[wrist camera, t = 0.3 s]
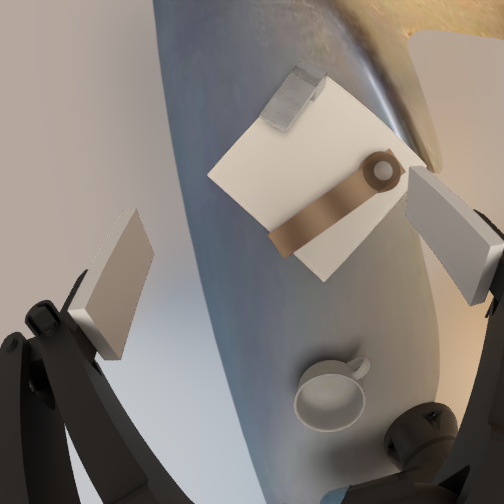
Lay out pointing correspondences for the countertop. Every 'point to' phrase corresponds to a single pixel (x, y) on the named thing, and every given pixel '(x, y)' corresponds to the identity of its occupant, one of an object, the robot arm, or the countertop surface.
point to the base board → (313, 172)
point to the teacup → (332, 394)
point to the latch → (338, 202)
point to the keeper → (294, 95)
